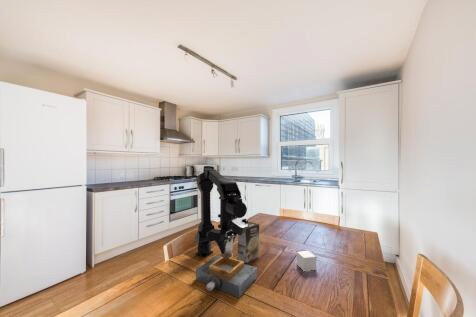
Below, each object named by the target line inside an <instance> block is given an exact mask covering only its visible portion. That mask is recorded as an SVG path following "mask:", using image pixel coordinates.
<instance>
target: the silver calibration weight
mask: <svg viewBox="0 0 476 317" xmlns="http://www.w3.org/2000/svg"><path fill="white" fill-rule="evenodd" d="M226 237H228V239H227V240H226V244H225V253H224V254H222V253H221V252H220V256H221V257H223V258H230V257H231V258H233V256H234V243H233V237H234V234H232V235H228V234H227V235H226Z"/></svg>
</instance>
